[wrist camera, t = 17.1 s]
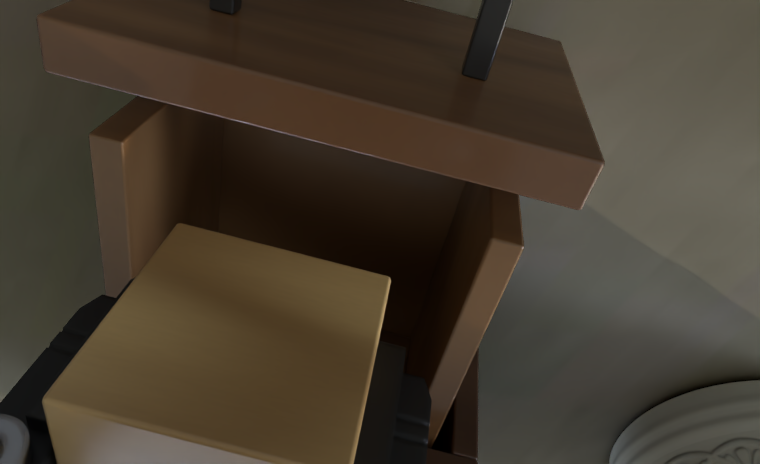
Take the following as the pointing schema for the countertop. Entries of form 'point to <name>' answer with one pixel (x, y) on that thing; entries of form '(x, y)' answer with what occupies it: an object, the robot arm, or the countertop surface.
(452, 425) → the cabinet
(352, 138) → the drawer
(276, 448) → the block
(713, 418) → the jar
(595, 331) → the countertop surface
